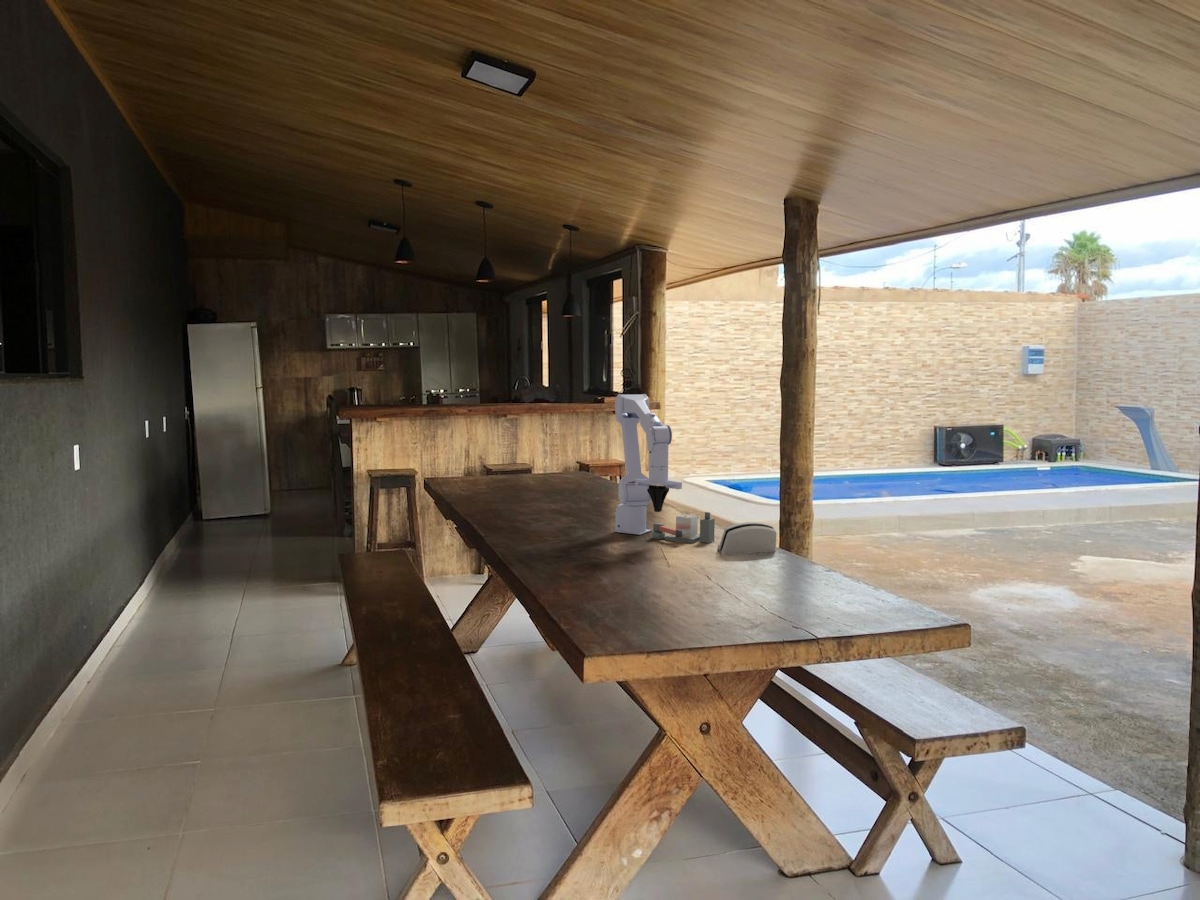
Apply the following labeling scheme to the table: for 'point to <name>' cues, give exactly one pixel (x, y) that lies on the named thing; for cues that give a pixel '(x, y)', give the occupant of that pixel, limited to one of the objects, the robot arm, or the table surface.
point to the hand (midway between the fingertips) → (657, 511)
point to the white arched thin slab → (748, 538)
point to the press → (704, 536)
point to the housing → (687, 525)
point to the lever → (666, 529)
